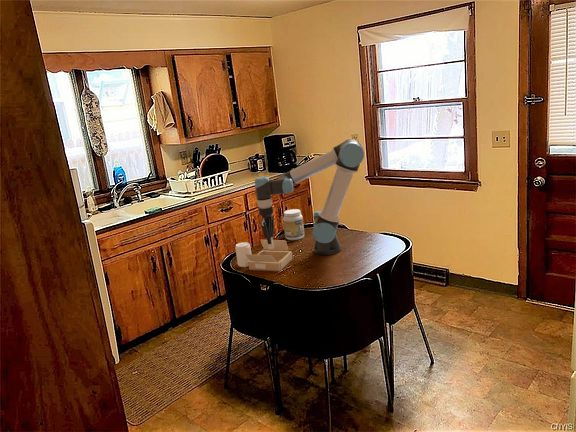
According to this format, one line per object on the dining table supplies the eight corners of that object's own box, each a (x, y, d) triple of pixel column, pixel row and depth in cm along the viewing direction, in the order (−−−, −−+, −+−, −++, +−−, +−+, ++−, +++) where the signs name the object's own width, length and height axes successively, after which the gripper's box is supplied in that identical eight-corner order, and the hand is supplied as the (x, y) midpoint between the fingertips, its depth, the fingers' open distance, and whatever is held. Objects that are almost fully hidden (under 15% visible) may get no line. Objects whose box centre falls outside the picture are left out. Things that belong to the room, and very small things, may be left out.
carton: (293, 259, 253) (292, 251, 252) (280, 271, 238) (279, 263, 237) (262, 257, 261) (261, 250, 260) (248, 269, 246) (247, 261, 245)
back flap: (260, 240, 254) (260, 239, 254) (263, 249, 258) (264, 249, 258) (285, 240, 248) (285, 240, 248) (288, 250, 252) (288, 249, 252)
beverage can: (250, 267, 249) (247, 246, 245) (236, 268, 250) (233, 247, 247) (254, 261, 256) (251, 241, 253) (240, 262, 258) (237, 242, 255)
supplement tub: (301, 240, 282) (298, 214, 277) (282, 240, 286) (279, 214, 282) (307, 234, 292) (304, 208, 288) (289, 234, 297) (286, 208, 292)
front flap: (271, 255, 233) (271, 255, 232) (276, 261, 238) (276, 262, 238) (245, 254, 239) (245, 254, 239) (250, 260, 244) (250, 260, 244)
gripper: (264, 203, 250) (270, 244, 256) (253, 210, 238) (259, 253, 245) (276, 203, 247) (282, 244, 253) (266, 210, 235) (272, 253, 242)
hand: (271, 248), depth 249 cm, fingers closed
